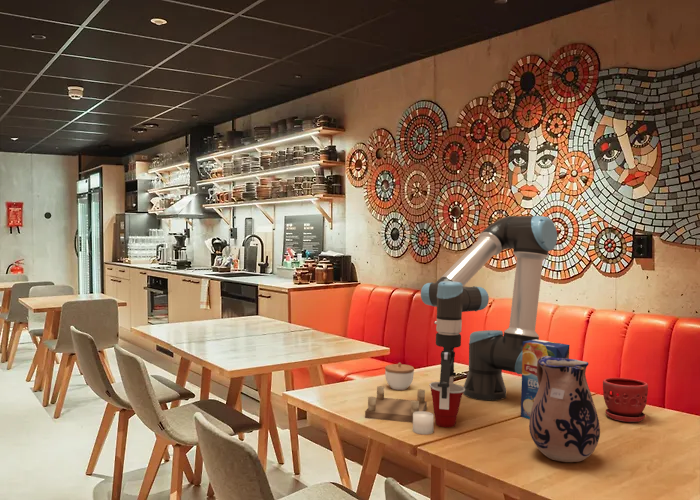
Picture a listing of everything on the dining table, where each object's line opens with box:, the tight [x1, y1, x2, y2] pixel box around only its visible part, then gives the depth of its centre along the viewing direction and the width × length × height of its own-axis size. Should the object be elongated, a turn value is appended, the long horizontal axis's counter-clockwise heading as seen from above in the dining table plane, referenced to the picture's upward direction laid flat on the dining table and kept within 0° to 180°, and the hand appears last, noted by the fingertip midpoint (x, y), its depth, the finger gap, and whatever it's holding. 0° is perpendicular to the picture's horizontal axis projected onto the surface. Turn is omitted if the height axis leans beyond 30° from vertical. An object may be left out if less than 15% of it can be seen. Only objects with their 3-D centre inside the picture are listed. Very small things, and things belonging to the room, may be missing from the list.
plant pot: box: [602, 377, 649, 423], centre depth 195 cm, size 13×13×12 cm
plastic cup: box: [428, 381, 465, 428], centre depth 186 cm, size 11×11×12 cm
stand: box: [364, 385, 428, 423], centre depth 197 cm, size 17×17×6 cm
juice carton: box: [520, 339, 570, 420], centre depth 193 cm, size 12×8×24 cm, turn 41°
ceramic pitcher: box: [528, 356, 601, 463], centre depth 162 cm, size 18×21×25 cm
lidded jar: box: [384, 362, 415, 391], centre depth 228 cm, size 11×11×9 cm
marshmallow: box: [412, 410, 435, 435], centre depth 179 cm, size 6×6×5 cm
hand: (446, 402), depth 185 cm, fingers open, 13 cm apart
